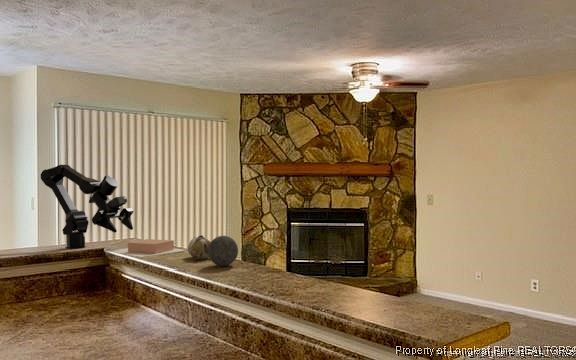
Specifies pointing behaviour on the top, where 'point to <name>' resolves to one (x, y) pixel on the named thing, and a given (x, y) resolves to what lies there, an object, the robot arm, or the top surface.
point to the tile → (151, 246)
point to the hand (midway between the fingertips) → (124, 230)
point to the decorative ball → (223, 250)
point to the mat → (125, 251)
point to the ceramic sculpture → (199, 247)
